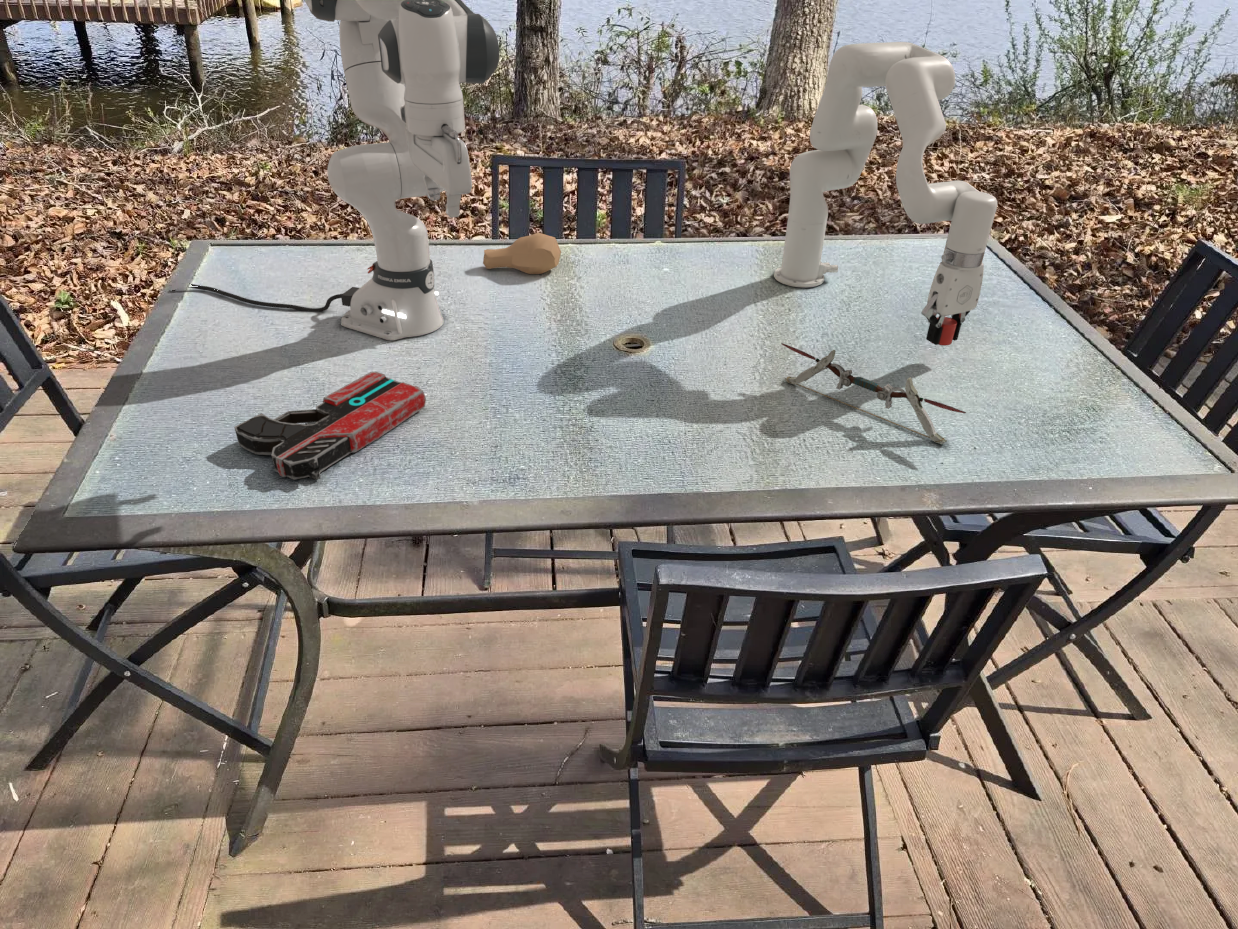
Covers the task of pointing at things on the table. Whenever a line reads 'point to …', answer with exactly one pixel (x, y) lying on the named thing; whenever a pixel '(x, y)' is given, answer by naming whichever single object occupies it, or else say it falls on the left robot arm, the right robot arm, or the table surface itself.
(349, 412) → the gun
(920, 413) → the bow
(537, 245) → the squash
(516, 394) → the table surface
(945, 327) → the canister
